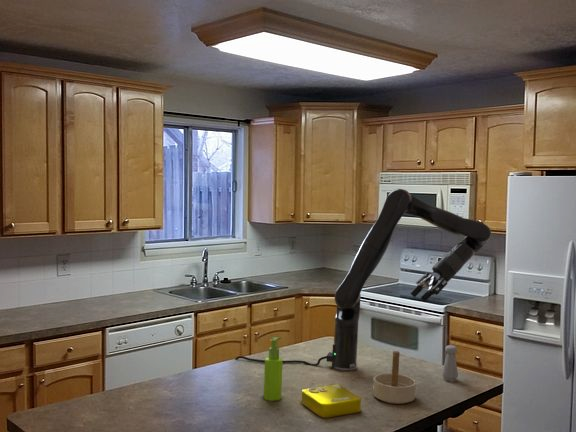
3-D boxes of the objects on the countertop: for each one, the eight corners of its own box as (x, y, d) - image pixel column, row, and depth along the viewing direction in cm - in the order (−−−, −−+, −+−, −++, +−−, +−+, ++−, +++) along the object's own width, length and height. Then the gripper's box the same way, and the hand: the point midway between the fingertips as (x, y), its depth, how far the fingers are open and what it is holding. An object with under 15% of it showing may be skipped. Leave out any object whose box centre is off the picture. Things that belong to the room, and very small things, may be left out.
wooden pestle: (387, 396, 199) (389, 352, 198) (388, 392, 203) (390, 349, 202) (400, 398, 197) (402, 354, 197) (401, 393, 202) (403, 350, 201)
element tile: (322, 419, 179) (323, 403, 179) (299, 402, 192) (299, 387, 192) (363, 412, 186) (363, 397, 186) (337, 395, 199) (338, 382, 199)
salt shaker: (456, 378, 223) (458, 344, 223) (459, 383, 218) (461, 348, 217) (440, 377, 224) (442, 343, 223) (443, 382, 218) (444, 347, 217)
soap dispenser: (284, 395, 198) (286, 336, 197) (277, 401, 192) (279, 341, 191) (268, 392, 200) (270, 334, 199) (260, 399, 194) (263, 339, 193)
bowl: (370, 402, 195) (371, 384, 195) (374, 388, 209) (375, 371, 208) (414, 407, 192) (415, 389, 191) (415, 392, 205) (416, 376, 205)
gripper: (433, 256, 218) (402, 286, 216) (451, 261, 204) (418, 294, 202) (445, 270, 219) (415, 300, 217) (464, 276, 205) (432, 309, 204)
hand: (417, 297), depth 210 cm, fingers open, 8 cm apart
